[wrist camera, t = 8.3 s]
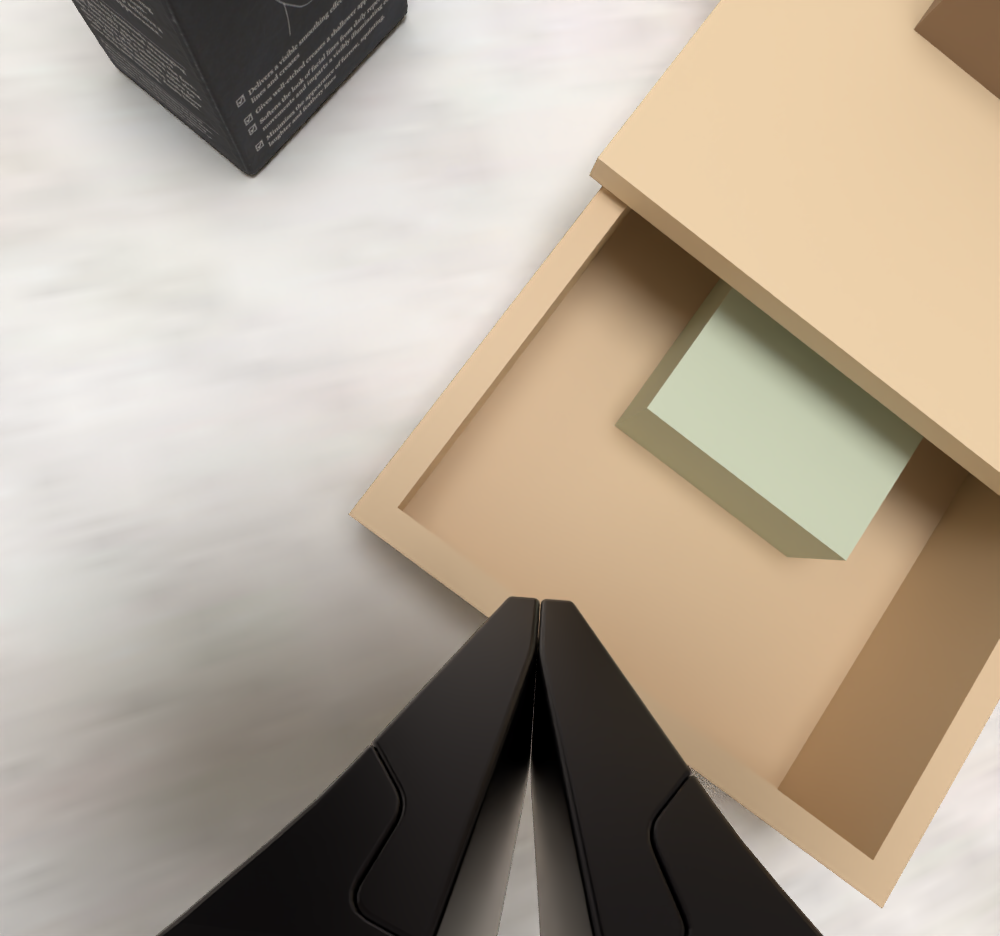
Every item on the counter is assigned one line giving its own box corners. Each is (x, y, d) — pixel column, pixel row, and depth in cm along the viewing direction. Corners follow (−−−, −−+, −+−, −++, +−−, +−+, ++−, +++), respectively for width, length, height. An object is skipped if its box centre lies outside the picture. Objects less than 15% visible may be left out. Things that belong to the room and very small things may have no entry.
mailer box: (773, 822, 21) (881, 908, 16) (363, 519, 21) (348, 514, 16) (1065, 337, 25) (1230, 287, 20) (717, 58, 24) (797, -66, 19)
